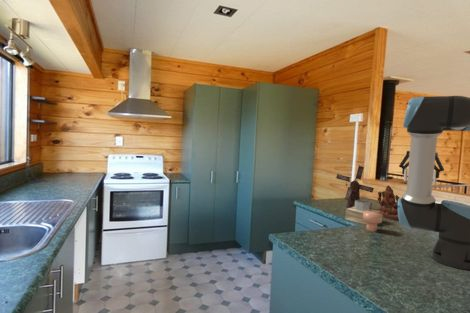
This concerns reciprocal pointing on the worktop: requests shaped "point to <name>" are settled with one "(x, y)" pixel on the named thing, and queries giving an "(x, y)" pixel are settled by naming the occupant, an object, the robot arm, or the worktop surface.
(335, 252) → the worktop surface
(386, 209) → the sculpture
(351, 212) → the square wooden block
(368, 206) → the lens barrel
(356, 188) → the miniature windmill
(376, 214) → the pink mushroom-shaped knob
